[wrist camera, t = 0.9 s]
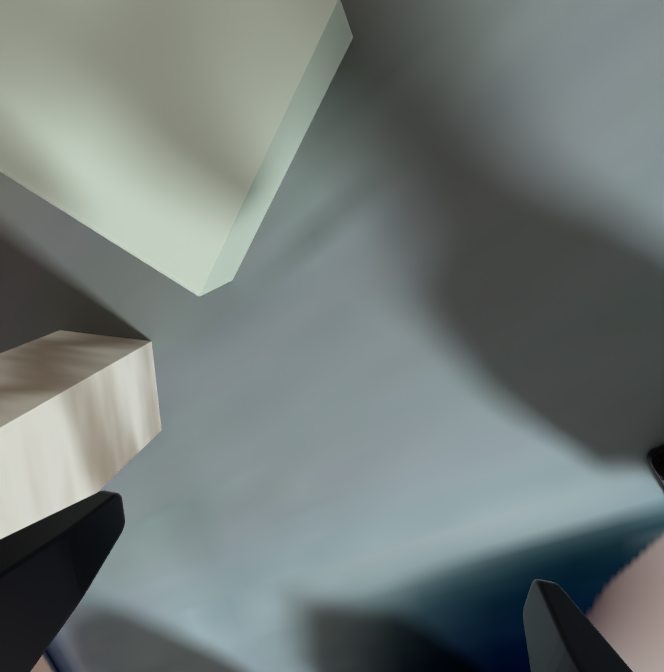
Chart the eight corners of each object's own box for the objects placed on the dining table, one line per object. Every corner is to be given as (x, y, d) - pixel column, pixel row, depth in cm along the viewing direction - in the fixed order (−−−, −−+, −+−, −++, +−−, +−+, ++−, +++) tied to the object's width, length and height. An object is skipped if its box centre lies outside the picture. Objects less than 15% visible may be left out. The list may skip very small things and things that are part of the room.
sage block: (354, 40, 17) (339, -3, 13) (235, 278, 21) (199, 296, 17) (107, -123, 16) (19, -217, 13) (40, 155, 21) (-40, 146, 17)
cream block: (151, 341, 23) (-135, 504, 11) (161, 430, 25) (-70, 651, 13) (59, 330, 24) (-300, 469, 12) (76, 416, 26) (-214, 611, 14)
